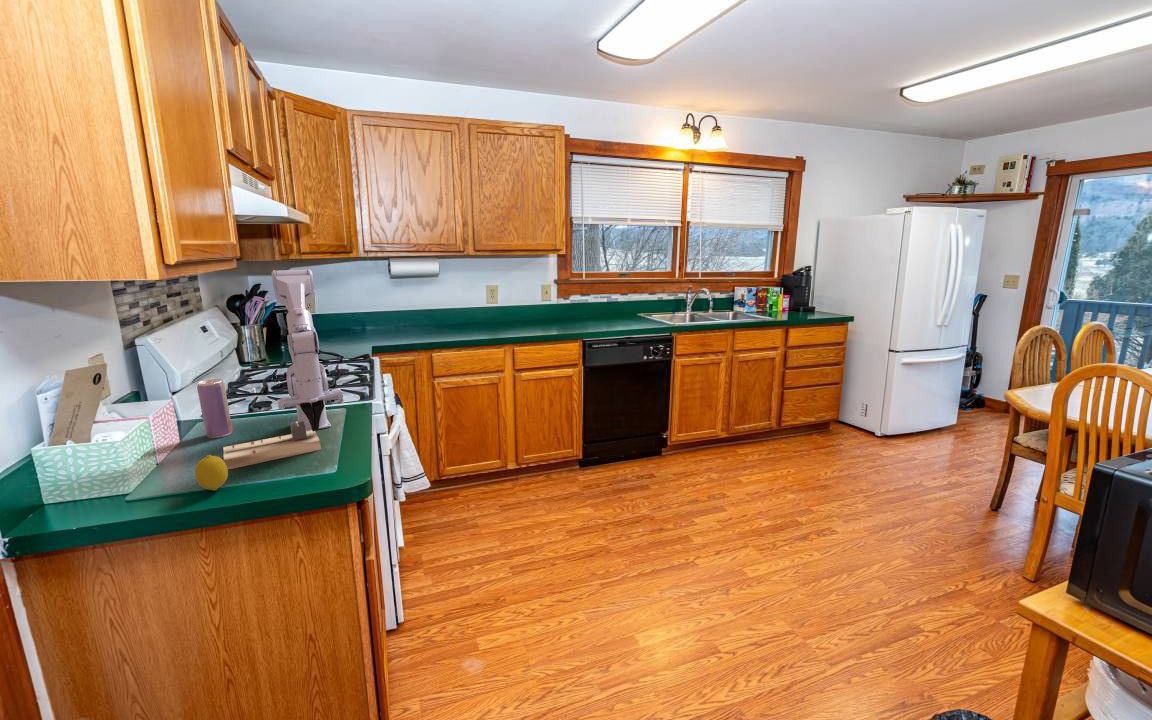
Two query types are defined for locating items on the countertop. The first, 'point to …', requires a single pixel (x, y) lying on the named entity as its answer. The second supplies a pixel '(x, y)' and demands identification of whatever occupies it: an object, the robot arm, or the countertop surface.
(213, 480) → the lemon
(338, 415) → the countertop surface
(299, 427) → the fader
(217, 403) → the beverage can
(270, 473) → the countertop surface
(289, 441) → the console
